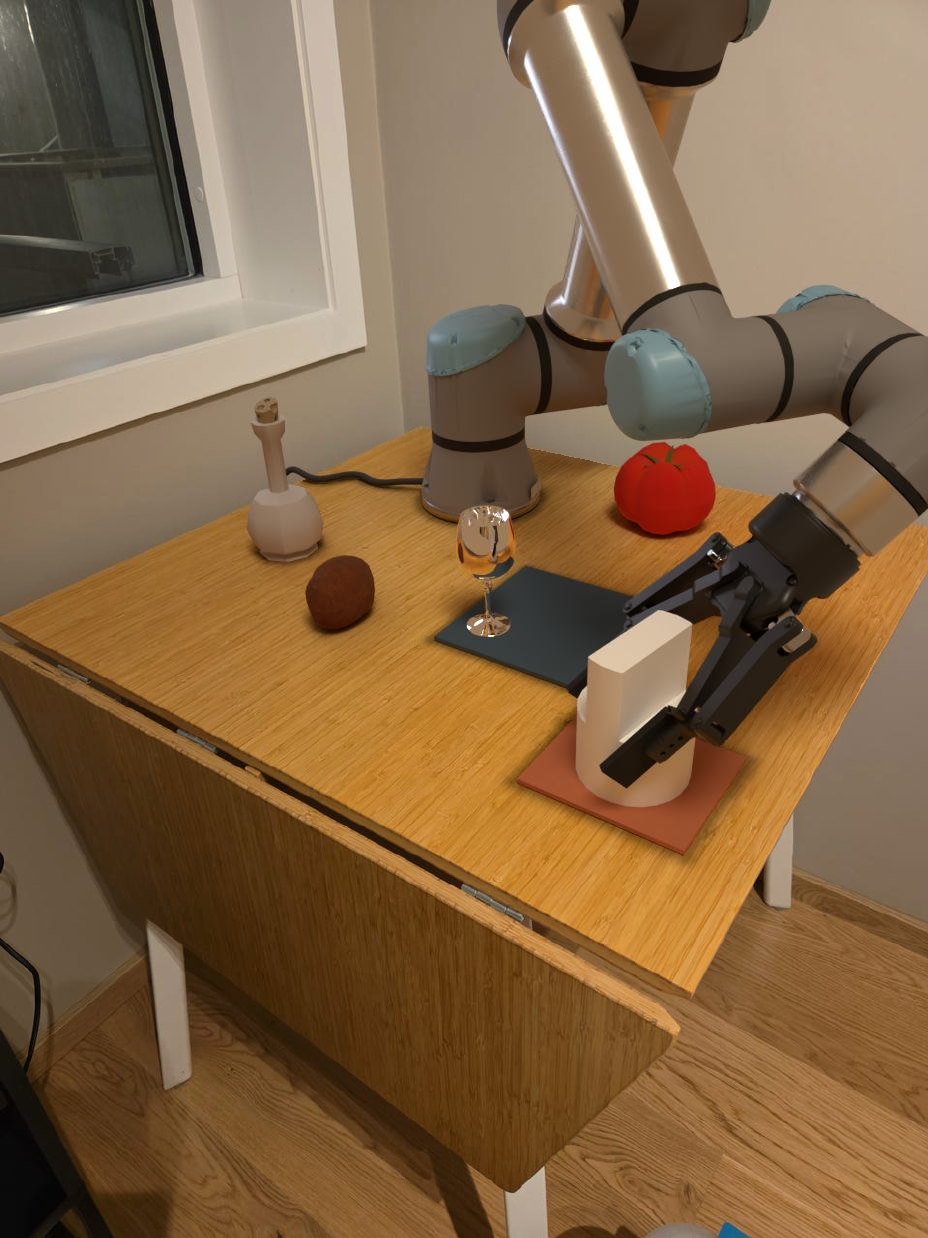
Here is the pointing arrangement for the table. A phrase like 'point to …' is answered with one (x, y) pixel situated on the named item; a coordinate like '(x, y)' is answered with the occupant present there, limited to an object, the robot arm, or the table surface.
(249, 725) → the table surface
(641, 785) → the base with upright slab
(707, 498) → the tomato
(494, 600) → the mat
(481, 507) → the wineglass
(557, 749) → the mat
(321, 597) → the potato
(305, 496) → the potion bottle
